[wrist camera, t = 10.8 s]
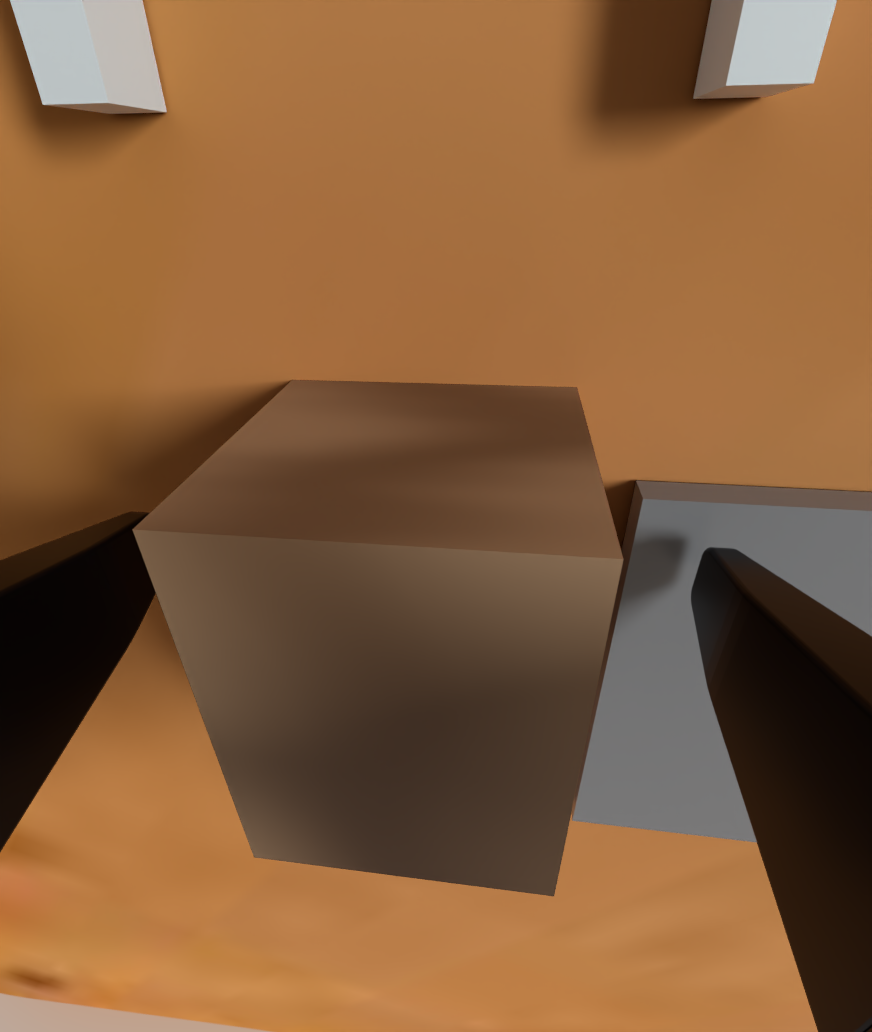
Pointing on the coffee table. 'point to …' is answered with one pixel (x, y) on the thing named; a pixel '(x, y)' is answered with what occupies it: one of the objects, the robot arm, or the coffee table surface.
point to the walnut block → (396, 623)
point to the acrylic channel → (137, 89)
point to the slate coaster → (675, 648)
